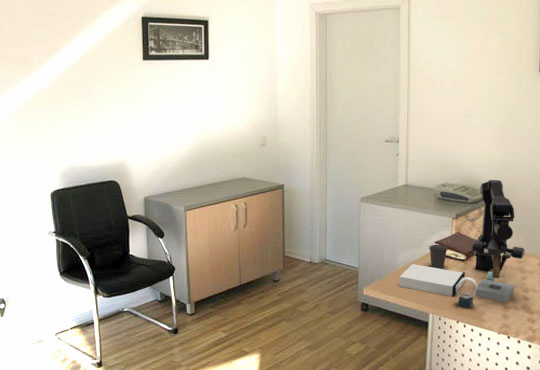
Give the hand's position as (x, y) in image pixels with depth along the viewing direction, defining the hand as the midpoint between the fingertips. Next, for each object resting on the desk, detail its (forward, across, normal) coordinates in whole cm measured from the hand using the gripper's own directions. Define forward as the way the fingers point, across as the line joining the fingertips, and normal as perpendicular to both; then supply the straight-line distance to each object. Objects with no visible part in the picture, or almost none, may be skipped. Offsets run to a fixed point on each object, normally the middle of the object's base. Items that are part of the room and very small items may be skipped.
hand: (496, 269), depth 243 cm
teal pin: (+10, -4, +10) cm, 15 cm away
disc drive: (+11, -24, -3) cm, 27 cm away
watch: (+10, -7, -17) cm, 21 cm away
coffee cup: (+10, -29, +18) cm, 36 cm away
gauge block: (+10, 0, 0) cm, 10 cm away
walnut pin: (+3, 0, 0) cm, 3 cm away
